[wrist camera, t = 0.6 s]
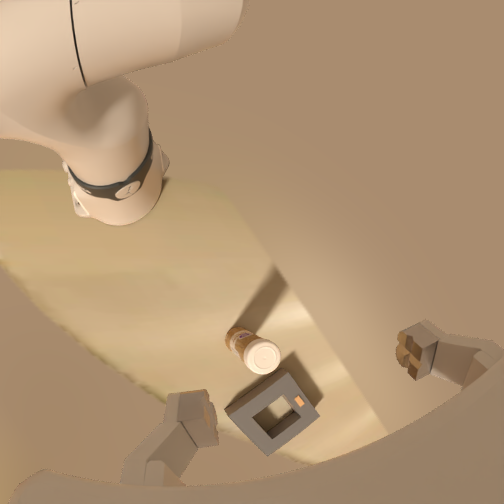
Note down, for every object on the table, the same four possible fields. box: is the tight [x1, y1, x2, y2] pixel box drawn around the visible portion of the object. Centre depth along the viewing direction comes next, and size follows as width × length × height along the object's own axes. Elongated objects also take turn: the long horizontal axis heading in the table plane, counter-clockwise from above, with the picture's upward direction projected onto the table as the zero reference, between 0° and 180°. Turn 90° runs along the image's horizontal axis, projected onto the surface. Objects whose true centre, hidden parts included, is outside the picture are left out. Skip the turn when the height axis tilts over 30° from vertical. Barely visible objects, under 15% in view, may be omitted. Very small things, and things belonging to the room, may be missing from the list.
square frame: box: [224, 368, 320, 456], centre depth 43 cm, size 13×13×3 cm
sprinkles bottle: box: [225, 327, 281, 374], centre depth 38 cm, size 5×5×14 cm
